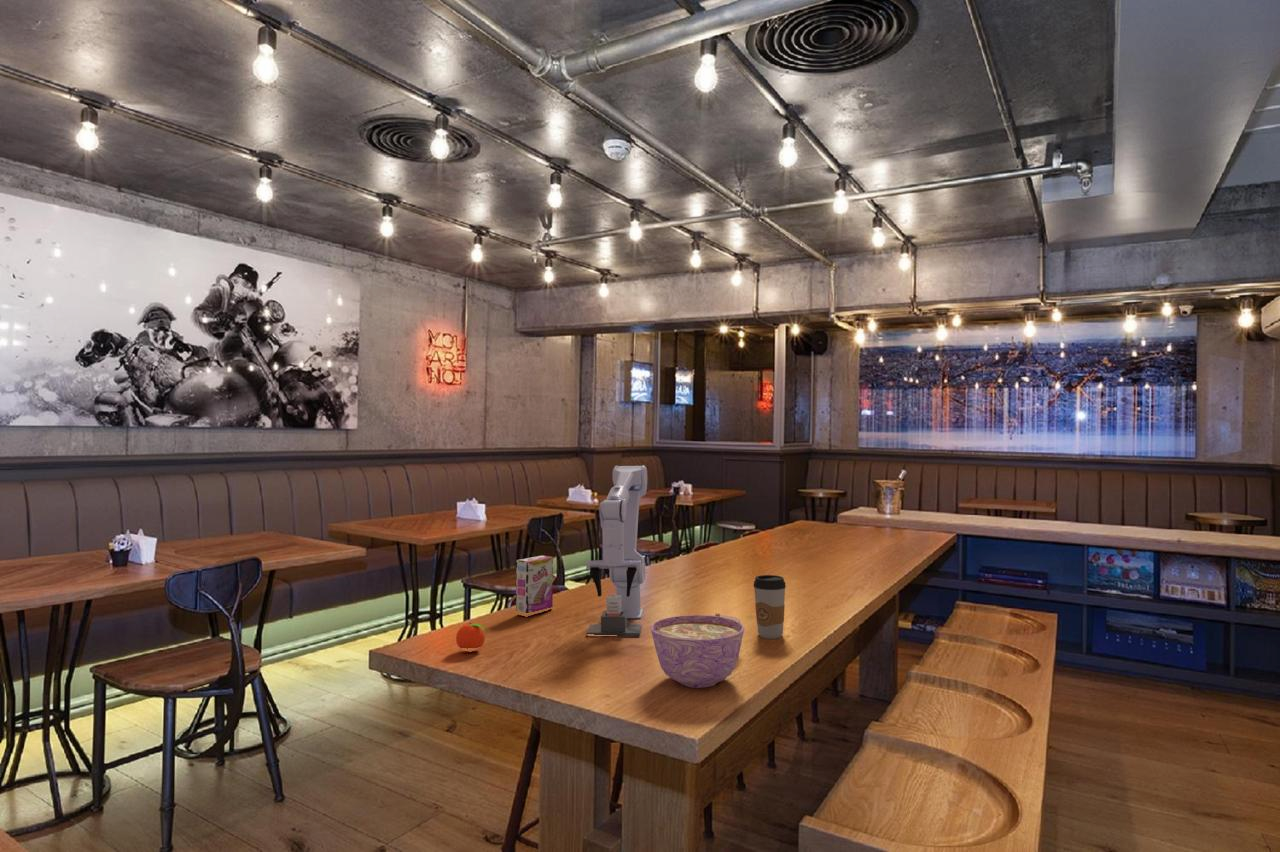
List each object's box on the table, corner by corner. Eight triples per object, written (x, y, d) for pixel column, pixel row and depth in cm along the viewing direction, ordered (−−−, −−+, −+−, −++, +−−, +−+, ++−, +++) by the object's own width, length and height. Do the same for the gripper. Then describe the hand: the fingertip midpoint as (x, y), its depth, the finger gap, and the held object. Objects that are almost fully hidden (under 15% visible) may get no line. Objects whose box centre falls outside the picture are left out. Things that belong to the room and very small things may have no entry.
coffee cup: (747, 636, 184) (746, 578, 184) (765, 629, 190) (764, 573, 190) (775, 642, 178) (774, 582, 179) (792, 634, 185) (791, 577, 185)
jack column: (608, 626, 191) (607, 595, 192) (622, 626, 191) (621, 595, 191) (606, 629, 188) (606, 598, 188) (620, 629, 187) (620, 598, 187)
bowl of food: (670, 662, 164) (669, 611, 164) (755, 671, 156) (754, 619, 156) (636, 691, 145) (635, 634, 146) (731, 703, 138) (730, 644, 138)
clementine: (494, 649, 176) (493, 620, 176) (480, 657, 169) (480, 627, 170) (465, 646, 178) (464, 618, 178) (450, 655, 172) (450, 625, 172)
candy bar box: (527, 618, 206) (527, 561, 206) (515, 615, 209) (514, 560, 209) (554, 610, 215) (553, 556, 215) (542, 608, 218) (541, 554, 218)
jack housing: (590, 628, 194) (590, 608, 194) (641, 628, 193) (641, 609, 193) (586, 636, 186) (586, 616, 186) (639, 636, 185) (639, 616, 185)
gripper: (584, 547, 186) (584, 599, 186) (639, 547, 185) (639, 599, 185) (588, 543, 193) (588, 593, 193) (641, 543, 192) (641, 593, 192)
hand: (614, 595), depth 189 cm, fingers open, 7 cm apart
